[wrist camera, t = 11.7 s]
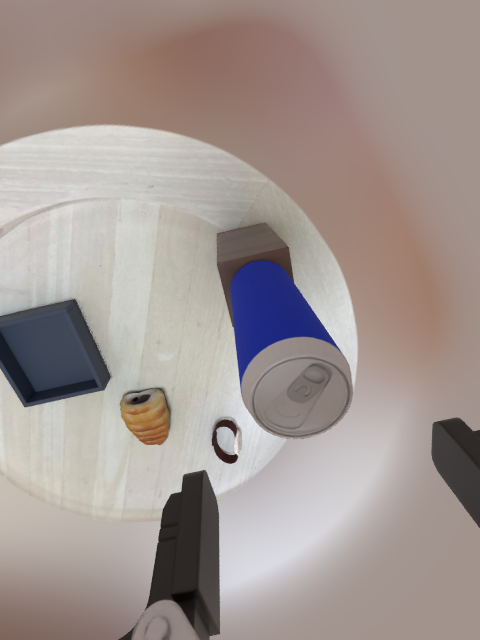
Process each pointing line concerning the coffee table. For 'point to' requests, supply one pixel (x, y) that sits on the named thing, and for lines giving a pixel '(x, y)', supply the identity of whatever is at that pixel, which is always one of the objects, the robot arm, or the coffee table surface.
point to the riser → (248, 253)
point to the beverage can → (286, 356)
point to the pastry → (146, 416)
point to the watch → (237, 443)
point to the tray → (50, 354)
